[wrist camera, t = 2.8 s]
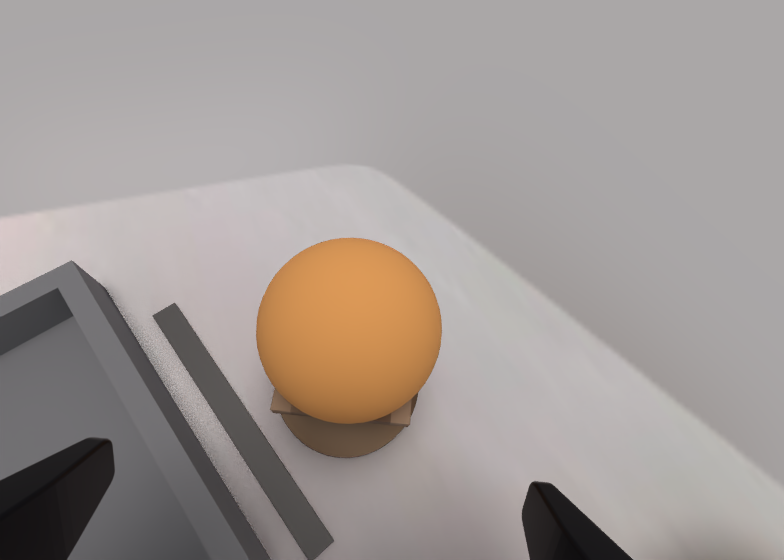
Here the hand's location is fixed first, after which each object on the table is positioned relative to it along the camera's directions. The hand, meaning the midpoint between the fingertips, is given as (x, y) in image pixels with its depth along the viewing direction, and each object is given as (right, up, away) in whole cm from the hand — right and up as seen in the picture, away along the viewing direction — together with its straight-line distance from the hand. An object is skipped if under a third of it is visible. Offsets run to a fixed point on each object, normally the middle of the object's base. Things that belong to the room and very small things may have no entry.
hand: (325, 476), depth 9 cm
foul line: (-6, -2, +11) cm, 13 cm away
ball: (0, +1, +8) cm, 8 cm away
